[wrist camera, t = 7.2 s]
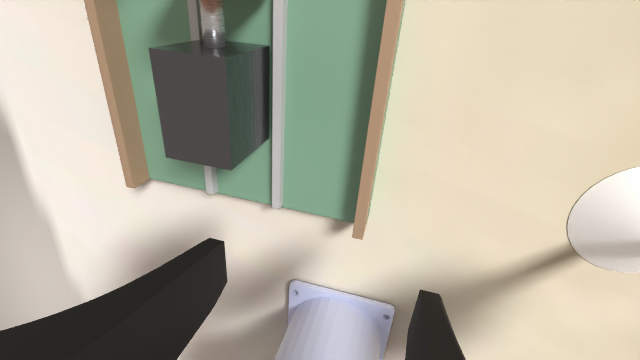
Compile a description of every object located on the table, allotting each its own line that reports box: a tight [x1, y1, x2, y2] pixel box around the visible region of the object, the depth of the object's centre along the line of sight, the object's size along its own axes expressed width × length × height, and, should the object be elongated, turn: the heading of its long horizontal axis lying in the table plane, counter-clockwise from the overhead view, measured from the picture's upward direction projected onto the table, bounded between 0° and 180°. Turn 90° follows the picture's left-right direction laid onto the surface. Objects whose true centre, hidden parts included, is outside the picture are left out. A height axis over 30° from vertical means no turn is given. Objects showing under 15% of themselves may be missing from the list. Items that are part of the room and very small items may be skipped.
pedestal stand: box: [149, 0, 270, 171], centre depth 16 cm, size 9×4×5 cm, turn 175°
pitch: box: [84, 0, 405, 240], centre depth 16 cm, size 19×16×6 cm
